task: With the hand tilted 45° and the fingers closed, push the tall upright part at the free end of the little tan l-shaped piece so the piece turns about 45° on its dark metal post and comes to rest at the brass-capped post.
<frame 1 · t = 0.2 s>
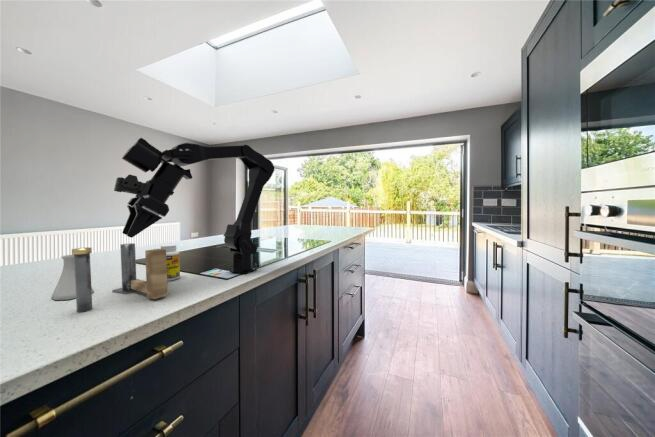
hand: (126, 235, 63), 15 cm above the worktop, tool tilted 30°, fingers open, 9 cm apart
flask: (73, 296, 63), on the worktop
gate frame: (129, 289, 67), on the worktop
supplement bottle: (169, 279, 77), on the worktop
tan l-shaped piece: (146, 271, 63), point 6 cm above the worktop, hinge at 0.0°
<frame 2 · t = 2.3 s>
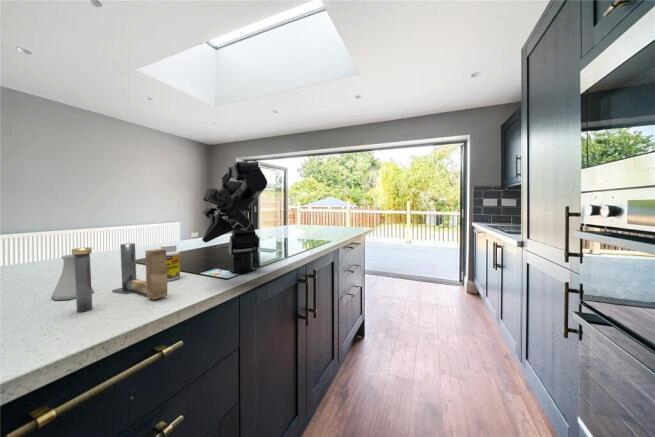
hand: (203, 241, 68), 12 cm above the worktop, tool tilted 45°, fingers closed
nothing on the worktop moved.
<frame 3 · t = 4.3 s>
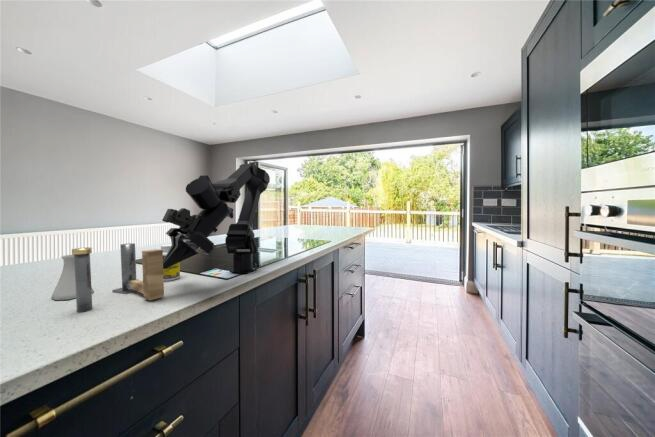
hand: (162, 267, 61), 7 cm above the worktop, tool tilted 45°, fingers closed
tan l-shaped piece: (144, 271, 62), point 6 cm above the worktop, hinge at 3.3°, touching gripper
everything else where it was.
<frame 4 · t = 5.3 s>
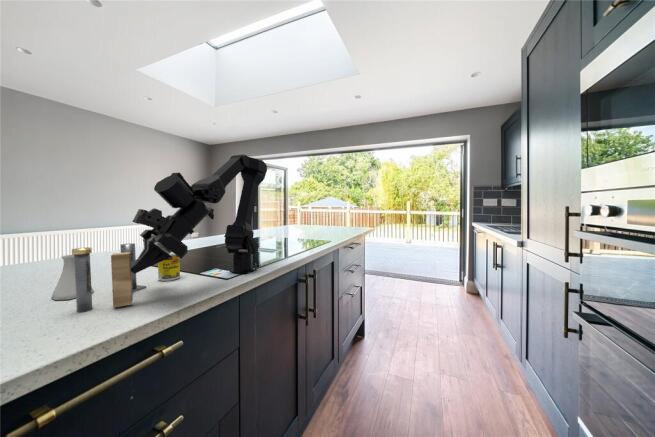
hand: (132, 272, 57), 7 cm above the worktop, tool tilted 45°, fingers closed
tan l-shaped piece: (124, 274, 60), point 6 cm above the worktop, hinge at 28.6°, touching gripper
everything else where it was.
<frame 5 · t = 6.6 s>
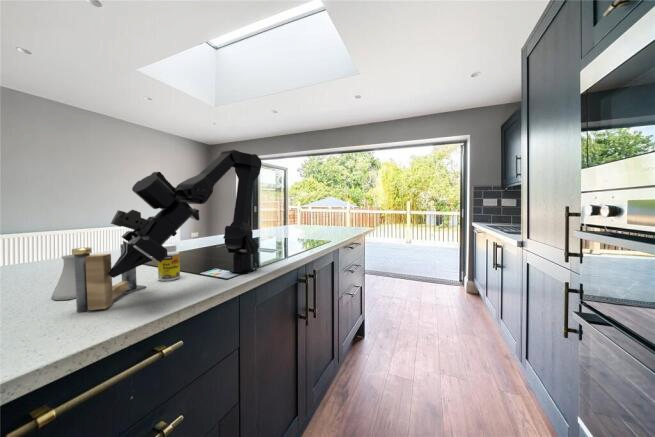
hand: (110, 276, 55), 7 cm above the worktop, tool tilted 45°, fingers closed
tan l-shaped piece: (111, 275, 59), point 6 cm above the worktop, hinge at 45.5°, touching gripper
everything else where it was.
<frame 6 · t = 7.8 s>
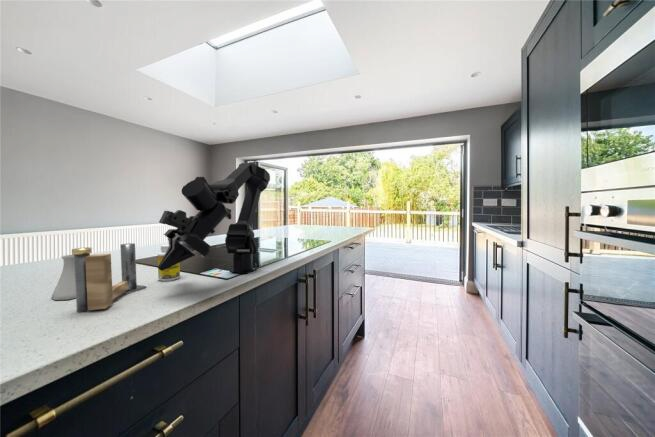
hand: (159, 269, 61), 7 cm above the worktop, tool tilted 45°, fingers closed
tan l-shaped piece: (111, 275, 59), point 6 cm above the worktop, hinge at 45.5°
everything else where it was.
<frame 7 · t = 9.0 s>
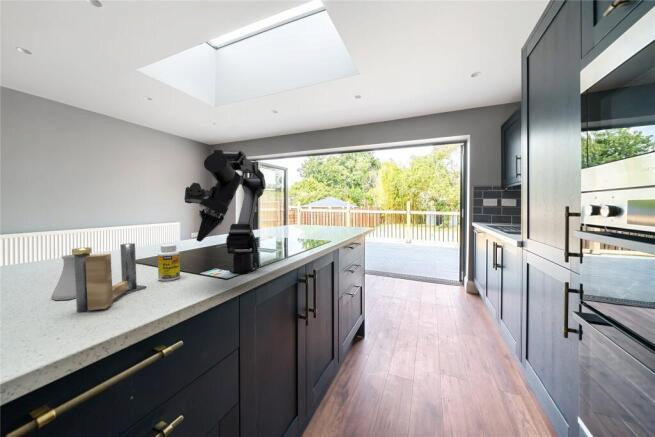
hand: (198, 241, 67), 13 cm above the worktop, tool tilted 30°, fingers closed
nothing on the worktop moved.
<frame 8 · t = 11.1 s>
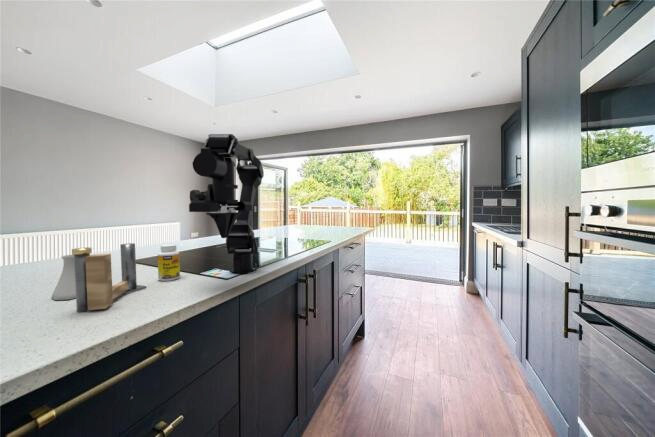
hand: (224, 237, 71), 13 cm above the worktop, tool pointing down, fingers closed
nothing on the worktop moved.
at the end: tan l-shaped piece at +46° (first picture: +0°) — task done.
